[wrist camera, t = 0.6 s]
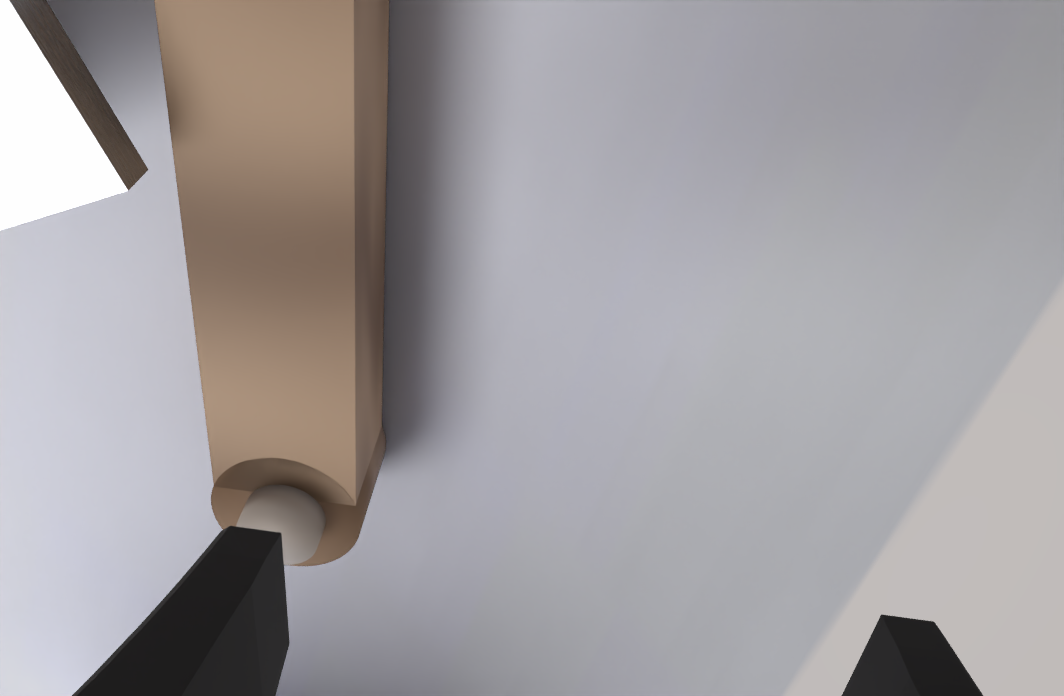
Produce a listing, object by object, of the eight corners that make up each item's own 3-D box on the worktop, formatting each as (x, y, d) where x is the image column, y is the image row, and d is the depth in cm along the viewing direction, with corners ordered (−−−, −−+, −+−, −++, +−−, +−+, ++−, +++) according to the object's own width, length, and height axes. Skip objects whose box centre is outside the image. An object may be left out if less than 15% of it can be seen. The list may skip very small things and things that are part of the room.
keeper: (223, 90, 17) (127, 190, 14) (2, 164, 18) (-132, 271, 15) (129, -85, 15) (-2, -17, 12) (-105, 8, 17) (-281, 91, 13)
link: (384, 493, 22) (354, 597, 20) (254, 476, 22) (207, 577, 20) (397, -61, 15) (350, -7, 13) (205, -87, 15) (121, -37, 13)
